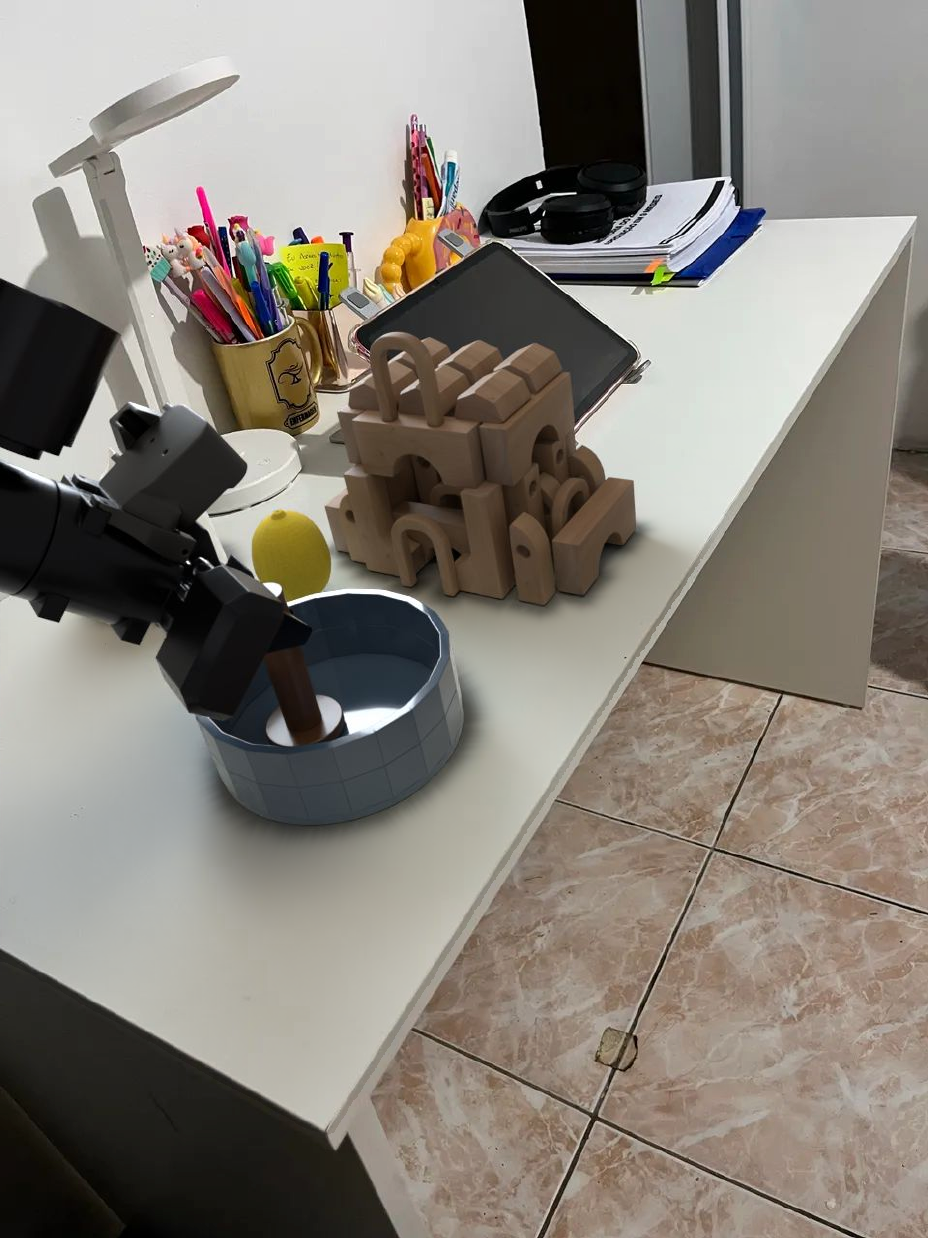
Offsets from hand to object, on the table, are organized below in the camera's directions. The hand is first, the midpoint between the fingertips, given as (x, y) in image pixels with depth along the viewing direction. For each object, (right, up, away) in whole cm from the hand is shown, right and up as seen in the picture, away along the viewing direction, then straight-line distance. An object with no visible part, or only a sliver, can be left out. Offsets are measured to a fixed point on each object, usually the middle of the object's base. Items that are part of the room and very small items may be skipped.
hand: (298, 626), depth 55 cm
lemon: (-2, +1, +17) cm, 17 cm away
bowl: (+2, -7, +4) cm, 8 cm away
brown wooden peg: (0, -6, +3) cm, 7 cm away
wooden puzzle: (+11, +6, +20) cm, 24 cm away
